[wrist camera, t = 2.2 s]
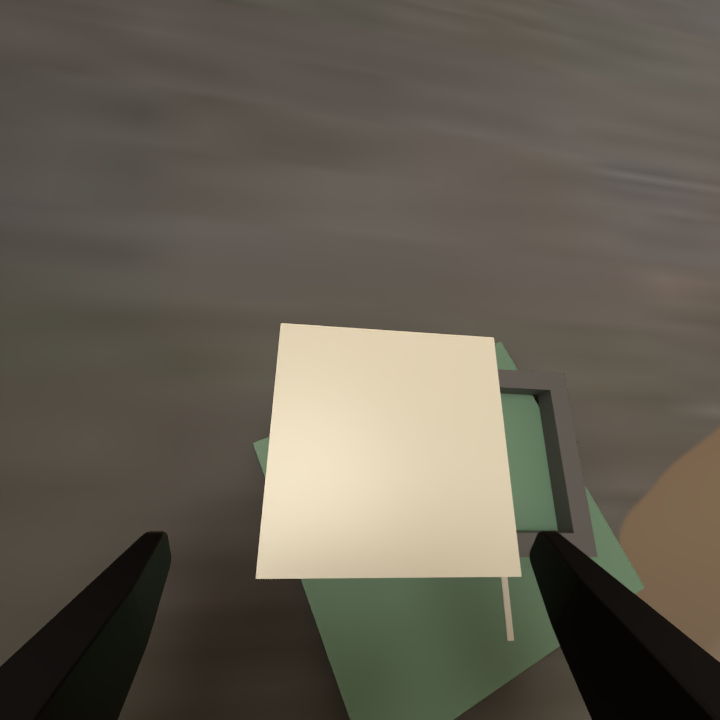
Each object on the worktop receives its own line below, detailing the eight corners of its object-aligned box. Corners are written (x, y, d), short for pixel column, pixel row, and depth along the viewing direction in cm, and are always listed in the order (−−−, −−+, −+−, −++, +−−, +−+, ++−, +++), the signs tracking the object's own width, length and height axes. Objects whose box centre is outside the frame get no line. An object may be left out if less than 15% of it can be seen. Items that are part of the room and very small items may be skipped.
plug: (388, 522, 18) (524, 579, 6) (291, 521, 17) (252, 582, 6) (387, 413, 19) (492, 306, 8) (299, 409, 19) (282, 290, 8)
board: (653, 568, 19) (690, 576, 17) (367, 763, 15) (375, 801, 13) (513, 333, 23) (531, 319, 21) (253, 439, 19) (246, 433, 17)
